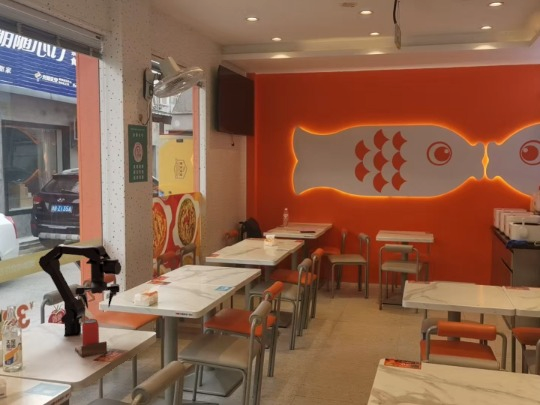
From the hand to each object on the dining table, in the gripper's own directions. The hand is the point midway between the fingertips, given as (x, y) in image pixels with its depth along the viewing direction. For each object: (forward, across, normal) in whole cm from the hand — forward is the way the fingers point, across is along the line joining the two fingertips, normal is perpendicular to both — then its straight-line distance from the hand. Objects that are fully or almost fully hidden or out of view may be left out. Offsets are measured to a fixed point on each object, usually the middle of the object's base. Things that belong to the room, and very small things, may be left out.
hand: (98, 307), depth 249 cm
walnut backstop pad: (+13, -2, -21) cm, 24 cm away
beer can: (+12, -2, -20) cm, 24 cm away
